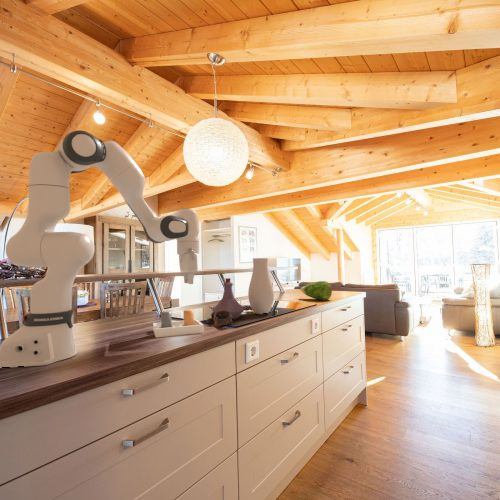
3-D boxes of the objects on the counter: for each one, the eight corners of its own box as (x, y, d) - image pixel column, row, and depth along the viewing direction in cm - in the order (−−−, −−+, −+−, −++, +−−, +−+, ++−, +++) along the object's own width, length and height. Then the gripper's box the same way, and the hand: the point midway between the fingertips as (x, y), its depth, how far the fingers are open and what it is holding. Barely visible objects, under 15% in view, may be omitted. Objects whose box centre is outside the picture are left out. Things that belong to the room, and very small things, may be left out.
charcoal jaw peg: (161, 334, 125) (161, 313, 125) (160, 332, 129) (160, 311, 129) (172, 333, 127) (172, 312, 127) (170, 331, 130) (170, 311, 131)
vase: (243, 314, 175) (242, 258, 176) (259, 311, 185) (258, 258, 186) (263, 316, 166) (262, 257, 167) (279, 313, 176) (278, 257, 177)
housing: (155, 340, 120) (155, 329, 120) (153, 333, 132) (153, 323, 132) (203, 335, 126) (203, 324, 127) (197, 329, 139) (196, 319, 139)
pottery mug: (238, 326, 147) (236, 311, 143) (225, 339, 140) (223, 324, 136) (218, 317, 153) (215, 303, 149) (204, 329, 146) (201, 314, 143)
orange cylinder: (194, 330, 130) (194, 310, 130) (184, 332, 128) (184, 311, 128) (192, 328, 133) (192, 309, 134) (183, 329, 132) (182, 310, 132)
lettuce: (306, 297, 246) (306, 280, 246) (334, 299, 230) (334, 280, 231) (295, 299, 235) (295, 281, 236) (324, 301, 220) (324, 282, 220)
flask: (227, 322, 152) (226, 279, 153) (205, 318, 164) (204, 279, 164) (251, 317, 164) (250, 277, 165) (229, 314, 176) (228, 277, 176)
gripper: (201, 247, 123) (201, 284, 123) (191, 250, 143) (191, 282, 142) (184, 247, 121) (184, 285, 120) (176, 250, 140) (177, 282, 140)
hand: (188, 283), depth 131 cm, fingers open, 8 cm apart
